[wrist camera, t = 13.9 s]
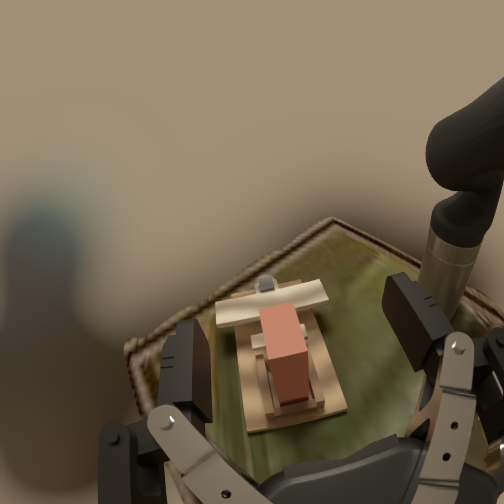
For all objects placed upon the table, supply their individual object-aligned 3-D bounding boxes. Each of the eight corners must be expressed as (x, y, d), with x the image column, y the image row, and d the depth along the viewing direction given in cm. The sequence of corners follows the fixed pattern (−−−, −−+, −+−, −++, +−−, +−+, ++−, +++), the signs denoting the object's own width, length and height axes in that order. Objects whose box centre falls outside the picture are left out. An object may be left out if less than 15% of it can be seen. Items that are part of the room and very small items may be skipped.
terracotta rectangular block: (272, 368, 39) (258, 309, 31) (298, 363, 39) (292, 301, 31) (280, 408, 34) (268, 359, 26) (309, 402, 34) (308, 350, 26)
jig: (222, 300, 55) (213, 275, 51) (310, 281, 55) (308, 254, 51) (234, 435, 32) (221, 421, 28) (359, 406, 32) (367, 387, 28)
